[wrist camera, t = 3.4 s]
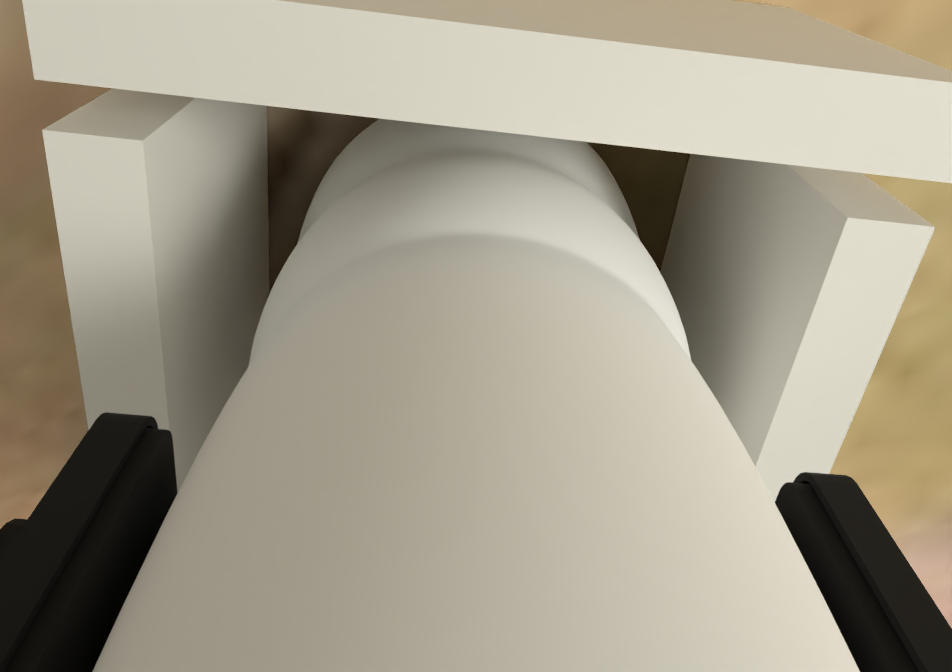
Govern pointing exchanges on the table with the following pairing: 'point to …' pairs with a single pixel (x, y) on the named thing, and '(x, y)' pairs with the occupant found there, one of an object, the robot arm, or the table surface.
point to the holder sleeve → (510, 111)
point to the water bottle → (472, 448)
